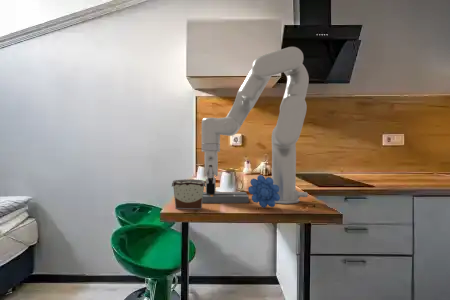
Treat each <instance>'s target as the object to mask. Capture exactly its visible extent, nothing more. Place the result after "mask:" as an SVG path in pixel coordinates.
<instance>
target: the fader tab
mask: <svg viewBox="0 0 450 300" xmlns="http://www.w3.org/2000/svg"><path fill="white" fill-rule="evenodd" d="M216 179H217V178H216V177H214V184H215V193H214V194H216V192H217V191H216V187H217V186H216V184H217V183H216V181H217V180H216ZM205 186H206V187H205V192H206V194H207V177H206V178H205ZM208 195H213V194H208Z"/></svg>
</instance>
